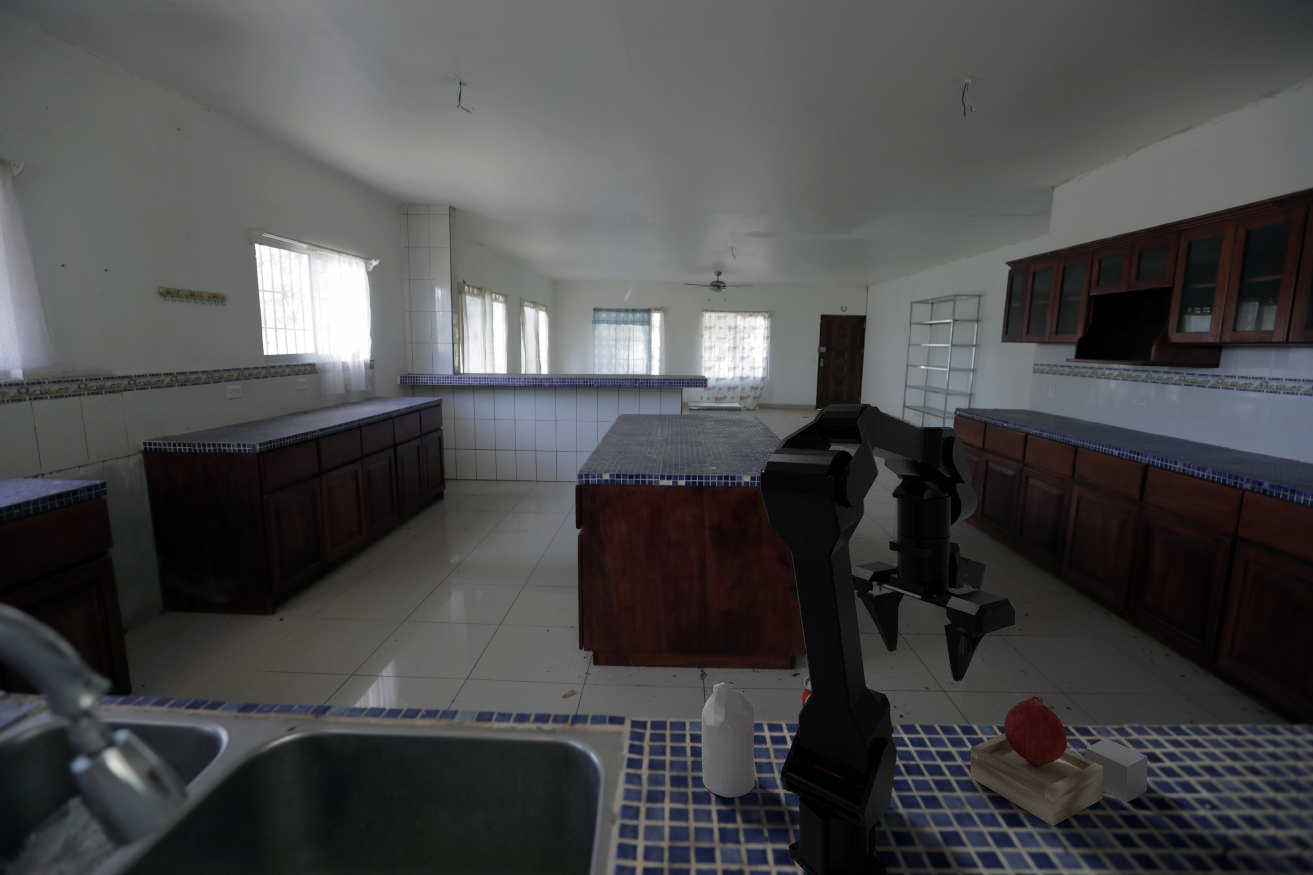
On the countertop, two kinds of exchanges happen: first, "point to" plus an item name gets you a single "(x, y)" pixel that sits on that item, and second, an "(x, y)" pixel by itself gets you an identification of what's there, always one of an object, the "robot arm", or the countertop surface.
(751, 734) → the white plastic bottle
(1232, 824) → the countertop surface
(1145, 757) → the grey cube
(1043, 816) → the square tray
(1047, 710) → the red pomegranate
